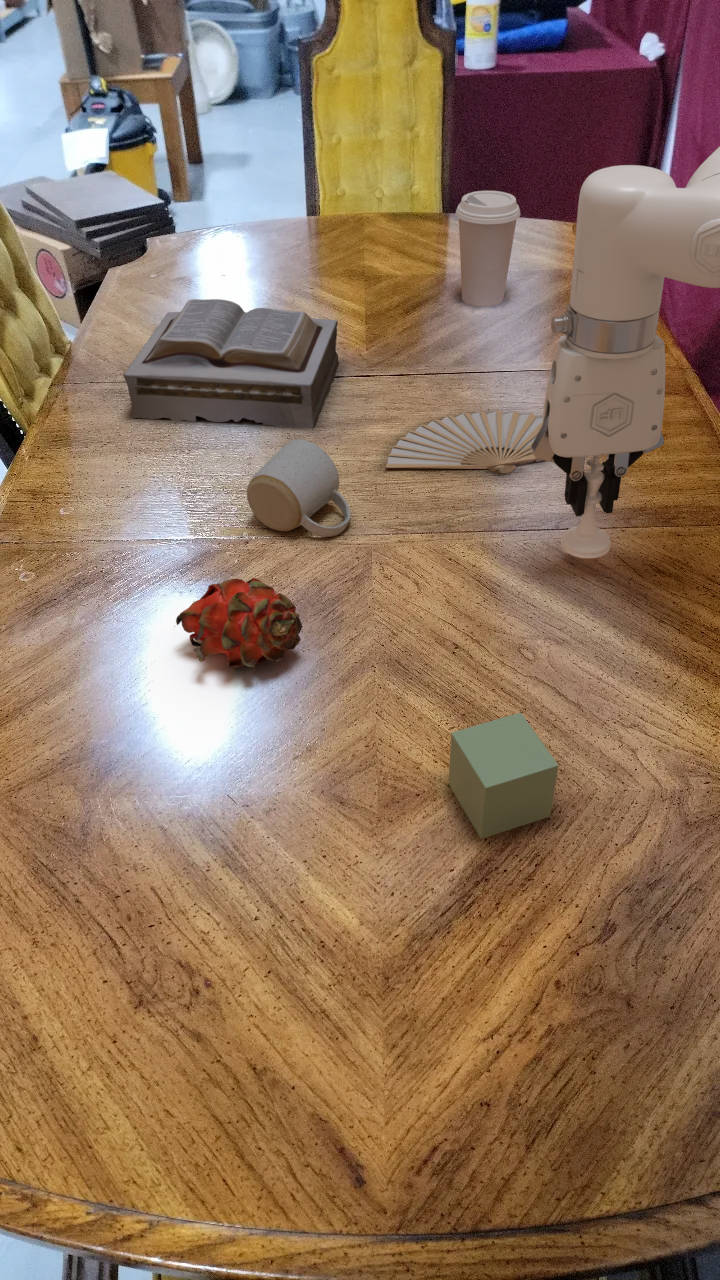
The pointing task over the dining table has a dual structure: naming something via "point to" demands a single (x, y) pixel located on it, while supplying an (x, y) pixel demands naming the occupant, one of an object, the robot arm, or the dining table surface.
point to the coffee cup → (486, 245)
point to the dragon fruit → (242, 623)
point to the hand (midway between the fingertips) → (590, 506)
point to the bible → (235, 366)
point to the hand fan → (469, 442)
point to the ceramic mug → (297, 489)
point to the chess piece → (588, 520)
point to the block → (502, 774)
